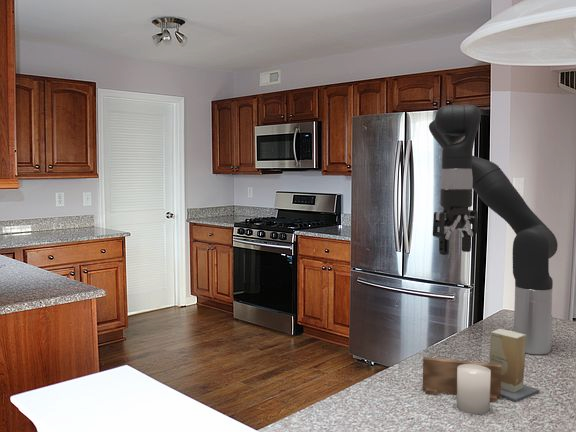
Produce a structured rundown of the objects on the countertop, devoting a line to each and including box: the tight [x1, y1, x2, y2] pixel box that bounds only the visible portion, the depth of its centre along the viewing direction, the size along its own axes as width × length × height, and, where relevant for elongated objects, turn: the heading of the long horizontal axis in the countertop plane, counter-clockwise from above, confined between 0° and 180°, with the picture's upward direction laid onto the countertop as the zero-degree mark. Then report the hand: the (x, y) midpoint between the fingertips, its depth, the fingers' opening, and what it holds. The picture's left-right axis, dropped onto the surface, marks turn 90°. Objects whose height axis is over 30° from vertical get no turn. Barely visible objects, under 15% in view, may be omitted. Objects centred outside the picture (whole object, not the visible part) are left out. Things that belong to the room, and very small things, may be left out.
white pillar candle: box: [456, 364, 491, 416], centre depth 110 cm, size 6×6×8 cm
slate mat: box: [501, 383, 540, 403], centre depth 119 cm, size 9×9×1 cm
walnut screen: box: [422, 356, 502, 403], centre depth 118 cm, size 16×5×7 cm, turn 72°
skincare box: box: [489, 328, 526, 393], centre depth 119 cm, size 6×4×12 cm
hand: (455, 253), depth 134 cm, fingers open, 8 cm apart
